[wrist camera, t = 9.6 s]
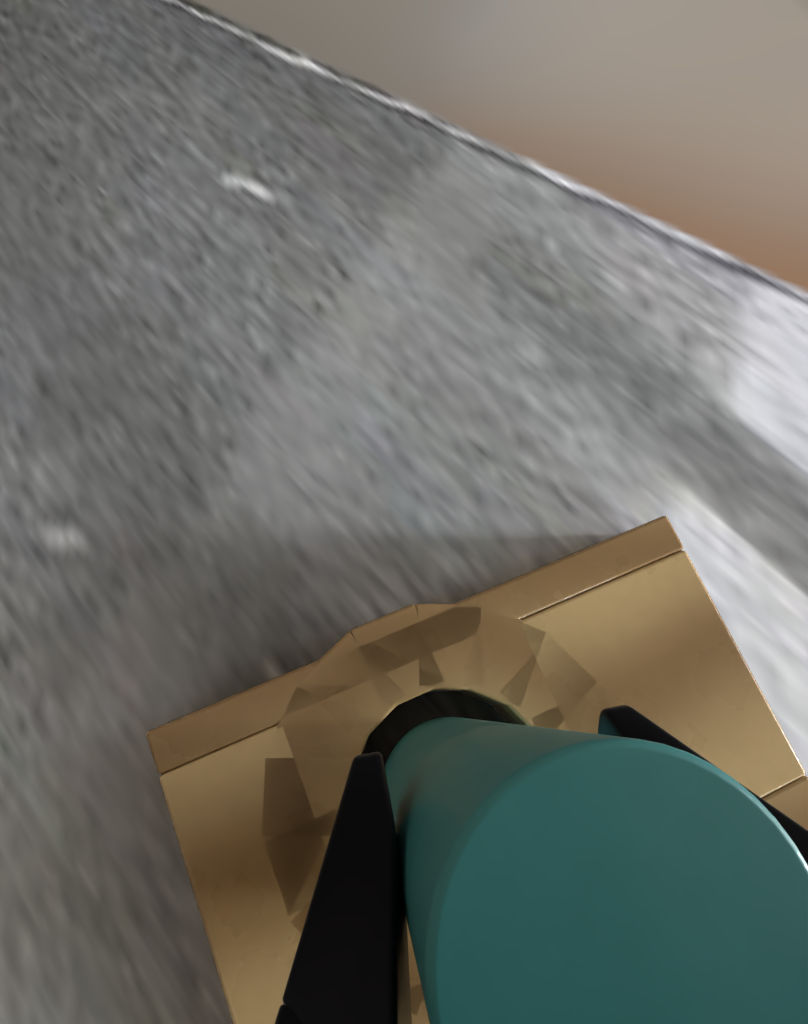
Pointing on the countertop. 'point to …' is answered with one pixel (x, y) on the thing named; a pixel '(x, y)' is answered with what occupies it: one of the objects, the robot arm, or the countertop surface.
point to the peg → (592, 881)
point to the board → (448, 667)
